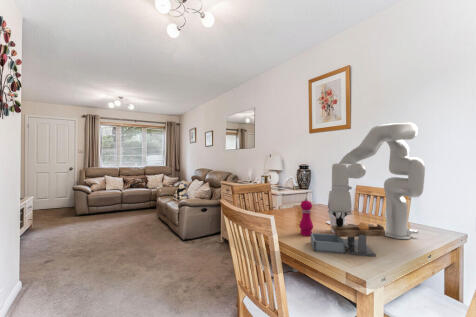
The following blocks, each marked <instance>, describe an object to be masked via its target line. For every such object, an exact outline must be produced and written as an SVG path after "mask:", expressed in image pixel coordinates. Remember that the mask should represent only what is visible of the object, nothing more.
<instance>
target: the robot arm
mask: <svg viewBox="0 0 476 317" xmlns="http://www.w3.org/2000/svg"><path fill="white" fill-rule="evenodd" d="M418 131H419V130H418V127H417V125H416V124H415V123H412V122H402V123H401V122H400V123H387V124H381V125H376V126H373V127H372V128H371V129H370V130H369V131H368V132H367V134H366V136H365V137H364V138H363V140H362V141H361V142H360V144H359V145H358V146H356V147H355V148H353V149H352V150H351V151H349V152H347V153H346V154H345V155H344V156H343V157H342V158H341V159H340V161H339V162H338V163H333V164H332V165H331V190H329V191H328V192H329V193H328V198H327V199H328V202H327V209H328V210H327V213H328V215H329V214H333V215H334V216H335V217H336V225H337V226H338V227H342V225H343V219H344V217H346V218H347V216H350V215H351V216H352V209H353V208H352V206H353V204H352V197H351V192H350V190H352V188H353V187H352V186H350V185H349V180H350V179H355V180H357V179H362V178H363V177H365V175H366V172H367V170H366V167H365V165H363V164H360V163H358V162H360V161H363V160H366V159H368V158H371V157H373V156H375V155H376V154H377V152H378V151H379V149H380V148H381V146H382V145H383V144H384V143H385V142H386V144H387V145H388V146H389V160H388V163H389V164H388V170H389V173H390V174H392V175H395V176H396V177H395V176H394V177H388V178H387V179H385V181H384V182H383V189H384V194H385V219H386V220H385V229H384V230H385V236H384V237H388V238H392V239H398V240H410V239H411V238H412V235H418V234H419V231H418V230H415V229H411V228H408V203H407V199H406V198H407V197H408V198H419V197H421V195H422V194H423V192H424V186H425V185H424V184H425V176H426V173H425V172H426V167H425V163H424V161H423V160H422V159H421V158H419V157H410V148H409V145H408V144H407V143H406V141H409V140H413V139H415V138H416V136H417V135H418ZM405 140H406V141H405ZM398 176H407V178H406V177H398ZM405 197H406V198H405ZM338 212H341V214H340V217H339V214H338Z"/></svg>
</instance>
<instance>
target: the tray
mask: <svg viewBox="0 0 476 317" xmlns="http://www.w3.org/2000/svg"><path fill="white" fill-rule="evenodd" d="M367 225H368V227H369V228H368V230H360V229H359V227H358V226H359V224H354V225H348V224H345V225H342V227H338V226H337V225H332V229H333V230H334V232H335V233H334V234H335V235H337V236H338V237H341V238H348V237H355V238H356V237H357V238H358V234H364V235H367V237H386V236H385V230H386V229H385V227H384V226H382V224H380V223H377V224H376V225H374V224H369V223H368V224H367Z"/></svg>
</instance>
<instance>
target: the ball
mask: <svg viewBox="0 0 476 317" xmlns="http://www.w3.org/2000/svg"><path fill="white" fill-rule="evenodd" d="M358 225H359V226H358V227H359V229H360V230H368V228H369V227H368V224H367V222H365V221H364V222H359V224H358Z"/></svg>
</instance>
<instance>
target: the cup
mask: <svg viewBox="0 0 476 317" xmlns="http://www.w3.org/2000/svg"><path fill="white" fill-rule="evenodd" d="M338 214H339V217H340V214H341V212H338ZM328 217H329V225H330V231H331V232H332V233H333V234H336V233H335V232H334V230H333V229H332V225H336V217H335V216H334V215H333V214H329V213H328ZM346 221H347V216H346V217H344V219H343V225H346V224H347V223H346Z"/></svg>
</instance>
